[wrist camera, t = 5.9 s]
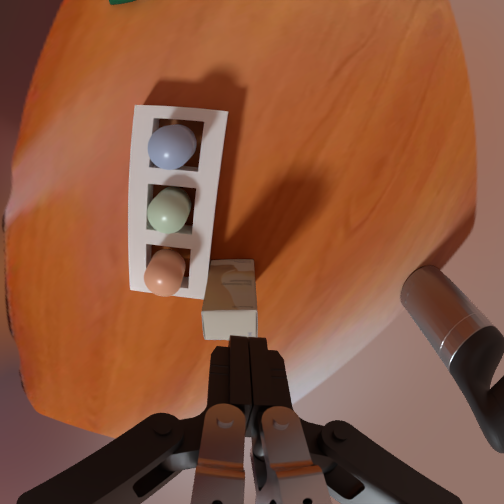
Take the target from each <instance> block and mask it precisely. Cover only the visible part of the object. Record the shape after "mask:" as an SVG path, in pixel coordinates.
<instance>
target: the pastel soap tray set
mask: <svg viewBox="0 0 504 504" xmlns="http://www.w3.org/2000/svg"><path fill="white" fill-rule="evenodd" d="M228 113H229V112H228V111H220V110H211V109H200V108H188V107H173V106H153V105H135V110H134V119H133V129H132V140H131V153H130V170H129V195H128V251H129V277H130V290H135V291H142V292H149V293H152V292H151V291H150V290H149V289H148V288H147V286H146V285H145V282H144V273H145V271H146V269H147V267H148V265H149V263H150V261H151V245H160V246H169V247H177V248H186V249H191V255H190V270H189V277H183V279H182V283H181V286H180V289H179V290H178V291H177V292H176V293H175V294H174V295H172V296H180V297H188V298H196V299H204V296H205V290H206V285H207V279H208V274H209V264H210V254H211V245H212V235H213V226H214V218H215V209H216V201H217V193H218V185H219V177H220V169H221V162H222V154H223V147H224V140H225V133H226V126H227V120H228ZM160 118H163V119H179V120H192V121H203V122H204V128H203V135H202V143H201V151H200V159H199V167H189V166H181V167H179V168H177V169H173V170H165V169H162V168H159V167H158V166H156V165H155V164H154V163H153V162H152V161H151V159H150V157H149V154H148V142H149V139H150V137H151V136H152V134H153V133H154V132H155V131H156V130H158V128H159V119H160ZM154 184H158V185H169V186H179V187H189V188H196V196H195V206H194V217H193V226H188V225H184V226H183V227H182V228H181V229H180V230H179V231H177V232H175V233H170V234H166V233H161V232H159V231H157V230H156V229H154V228H153V227H152V225H151V224H150V222H149V220H148V216H147V210H148V207H149V204H150V203H151V201H152V200H153V188H154Z"/></svg>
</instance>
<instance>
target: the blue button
mask: <svg viewBox="0 0 504 504" xmlns="http://www.w3.org/2000/svg"><path fill="white" fill-rule="evenodd" d="M196 144H197V143H196V137H195V135H194V133H193V132H192V131H191V130H190V129H189V128H188V127H186V126H184V125H180V124H175V125H168V126H164V127H161V128H159V129H158V130H156V131H155V132H154V133H153V134H152V136H151V137H150V139H149V142H148V154H149V157H150V159H151V161H152V162H153V163H154V164H155V165H156V166H158V167H159V168H162V169H165V170H173V169H177V168H179V167H181V166H182V165H184V164H185V163H186V162H187V161H188V160H189V159H190V158H191V157H192V156H193V154H194V152H195V150H196Z"/></svg>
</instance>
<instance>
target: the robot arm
mask: <svg viewBox="0 0 504 504" xmlns="http://www.w3.org/2000/svg"><path fill="white" fill-rule="evenodd" d="M401 302H402V305H403V306H404V307H405V309H406V310H407V311H408V313H409V314H410V315H411V317H412V318H413V320H414V321H415V323H416V324H417V325H418V327H419V328H420V330H421V331H422V332H423V334H424V335H425V337H426V338H427V340H428V341H429V342H430V344H431V345H432V347H433V348H434V350H435V351H436V353H437V354H438V356H439V357H440V359H441V360H442V361H443V363H444V364H445V366H446V367H447V369H448V371H449V372H450V374H451V375H452V376H453V378H454V379H455V381H456V383H457V384H458V386H459V388H460V390H461V391H462V393H463V394H464V396H465V398H466V400H467V401H468V403H469V405H470V407H471V409H472V411H473V413H474V415H475V417H476V420H477V422H478V424H479V426H480V428H481V430H482V432H483V434H484V436H485V438H486V439H487V441H488V442H489V444H490V445H491V446H492V448H493V449H494V450H496V451H497V452H499V453H504V376H503V377H502V378H501V379H500V380H499V381H498V382H497V383H496V384H495V385H494V386H493V387H492V388H491V389H490V384H491V380H492V377H493V375H494V372H495V370H496V368H497V366H498V364H499V362H500V360H501V358H502V356H503V353H504V337H503V335H502V334H501V333H500V331H499V330H498V329H497V328H496V327H495V326H494V325H493V324H492V323H491V322H490V320H489V319H488V318H487V317H486V316H485V315H484V314H483V313H482V312H481V311H480V310H479V309H478V308H477V307H476V306H475V305H474V304H473V302H472V301H471V300H470V299H469V298H468V297H467V296H466V295H465V294H464V293H463V292H462V291H461V290H460V289H459V288H458V287H457V286H456V285H455V284H454V283H453V282H451V280H450V279H449V278H447V276H445V275H444V274H443V273H442V272H441V271H440V270H439V269H438V268H436V267H434V266H425V267H422V268H420V269H418V270H416V271H415V272H414V273H413V274H412V275H411V276H410V277H409V278H408V279H407V281H406V282H405V284H404V286H403V288H402V291H401ZM245 437H251V438H252V447H251V450H250V457H251V464H252V470H253V477H254V483H255V489H256V501H255V504H332V502H331V498H330V496H332V497H333V498H334V499H335V500H337V501H338V502H340V503H341V504H462V502H461V500H460V498H459V497H457V496H456V495H454V494H453V493H451V492H449V491H448V490H446V489H444V488H443V487H441V486H439V485H437V484H436V483H435V482H433V481H431V480H430V479H428V478H427V477H425V476H424V475H422V474H420V473H419V472H417V471H416V470H414V469H413V468H411V467H410V466H408V465H407V464H405V463H404V462H402V461H401V460H399V459H398V458H396V457H395V456H394V455H392V454H391V453H389V452H388V451H386V450H385V449H384V448H382V447H381V446H379V445H378V444H376V443H375V442H374V441H372V440H371V439H369V438H368V437H367V436H365V435H364V434H362V433H361V432H360V431H358V430H357V429H356V428H354V427H353V426H352V425H350V424H349V423H347V422H344V421H340V420H335V421H331V422H329V423H327V424H326V425H325V426H322V425H317V424H313V423H309V422H306V421H304V420H302V419H301V418H300V417H298V415H297V414H296V413H295V412H294V410H293V408H292V403H291V397H290V392H289V386H288V381H287V375H286V371H285V364H284V359H283V358H282V357H281V355H280V354H279V352H278V351H275V350H268V348H267V340H266V338H260V337H246V336H235V335H230V338H229V345H228V347H221V346H216V348H215V349H214V351H213V352H212V354H211V360H210V371H209V383H208V398H207V407H206V409H205V410H204V411H203V412H202V413H201V414H200V415H198V416H196V417H193V418H188V419H182V420H179V419H178V418H176V417H175V416H173V415H170V414H167V413H156V414H153V415H151V416H149V417H147V418H146V419H144V420H143V421H142V422H140V423H139V424H137V425H136V426H134V427H133V428H131V429H130V430H128V431H127V432H125V433H124V434H122V435H121V436H119V437H118V438H116V439H115V440H113V441H112V442H110V443H109V444H107V445H105V446H104V447H102V448H101V449H99V450H98V451H96V452H95V453H93V454H91V455H90V456H88V457H86V458H85V459H83V460H82V461H80V462H78V463H77V464H75V465H73V466H72V467H70V468H68V469H67V470H65V471H63V472H61V473H60V474H58V475H56V476H54V477H53V478H51V479H49V480H47V481H46V482H44V483H42V484H40V485H38V486H36V487H35V488H33V489H31V490H29V491H27V492H25V493H23V494H22V495H21V496H20V497H19V498H18V500H17V504H141V503H142V502H143V501H145V500H146V499H147V498H149V497H150V496H151V495H153V494H154V493H155V492H156V491H157V490H159V489H160V488H162V487H163V486H164V485H165V484H167V483H168V482H169V481H170V480H172V479H173V478H174V477H175V476H177V475H178V474H179V473H180V472H181V471H182V470H185V469H190V468H196V471H195V478H194V485H193V492H192V498H191V504H244V487H245V471H244V468H243V461H244V442H245Z"/></svg>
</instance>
